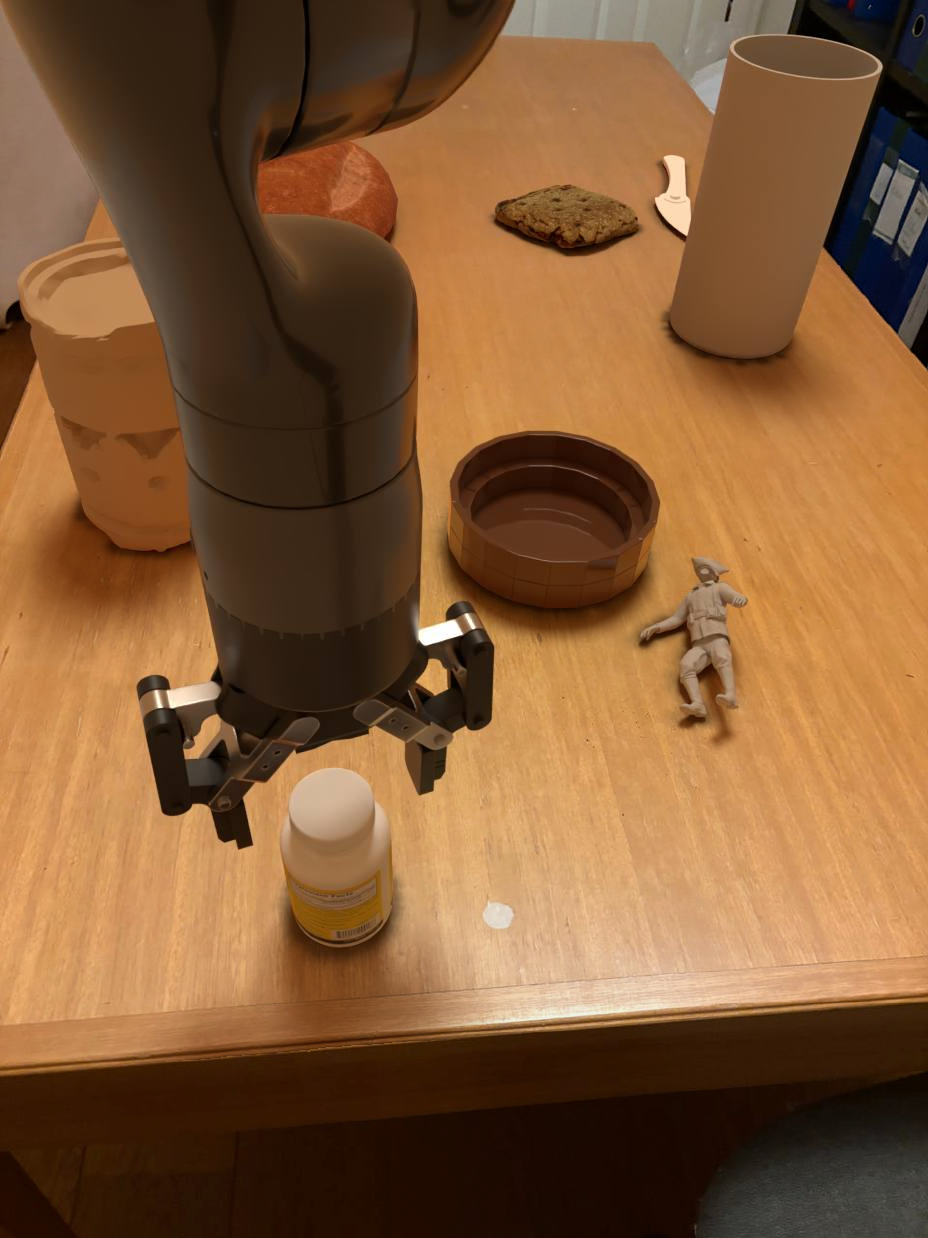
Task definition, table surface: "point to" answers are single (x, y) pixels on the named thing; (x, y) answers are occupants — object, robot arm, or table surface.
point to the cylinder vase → (769, 189)
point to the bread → (330, 186)
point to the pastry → (568, 216)
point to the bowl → (551, 518)
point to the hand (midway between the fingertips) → (333, 804)
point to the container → (109, 392)
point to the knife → (675, 195)
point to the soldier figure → (705, 633)
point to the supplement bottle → (337, 858)
